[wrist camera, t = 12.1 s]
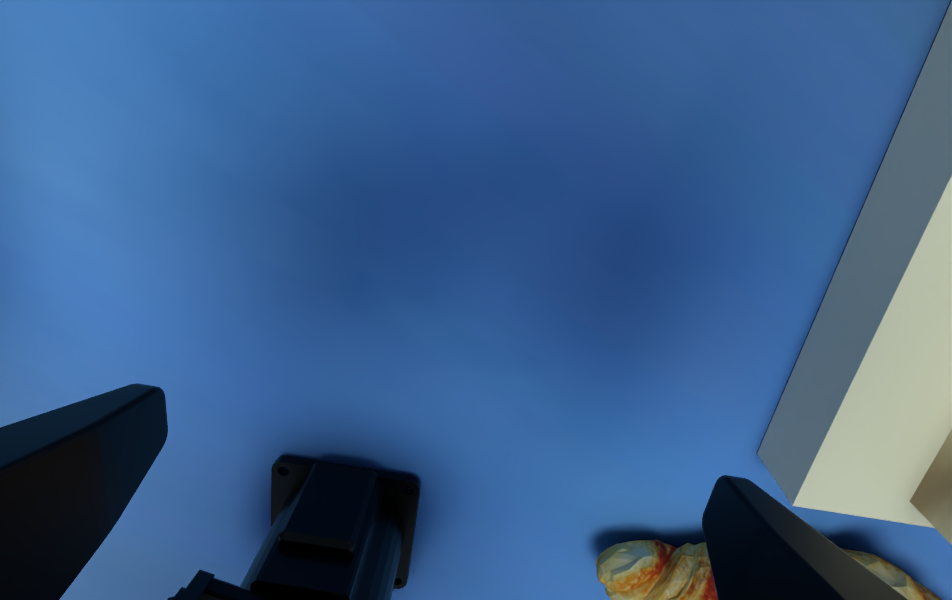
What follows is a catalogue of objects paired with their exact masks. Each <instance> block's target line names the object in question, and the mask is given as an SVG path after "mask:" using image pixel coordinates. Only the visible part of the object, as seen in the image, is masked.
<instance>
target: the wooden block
mask: <svg viewBox="0 0 952 600" xmlns="http://www.w3.org/2000/svg"><path fill="white" fill-rule="evenodd" d="M910 502H911V503H912V505H913V506H914V507H915V508H916V509H917V510H918V511H919V512H920V513H921V514H922V515H923V516H924V517H925V518H926V519H927V520H928V521H929V522H930V523H931V524H932V525H933V526H934V527H935V528H936V529H937V530H938V531H939V532H940V534H941V535H942V536H943V537H944V538H945V539H946V540H947V541H948V542H949V543H950V544H951V545H952V429H951V431H950V433H949V435H948V436H947V438H946V440H945V441H944V443H943V445H942V446H941V448H940V450H939V452H938V453H937V455H936V457H935V458H934V460H933V462H932V464H931V465H930V467H929V469H928V470H927V472H926V474H925V475H924V477H923V479H922V481H921V482H920V484H919V486H918V487H917V489H916V491H915V493H914V494H913V496H912V498H911V499H910Z"/></svg>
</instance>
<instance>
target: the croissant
mask: <svg viewBox="0 0 952 600" xmlns="http://www.w3.org/2000/svg"><path fill="white" fill-rule="evenodd" d="M840 549H842V548H840ZM842 550H843V551H844V552H846V553H847V554H848V555H850V556H851V557H852V558H853V559H855V560H856V561H857V562H859V563H860V564H861V565H863V566H864V567H865V568H867V569H868V570H869V571H871V572H872V573H873V574H875V575H876V576H877V577H879V578H880V579H881V580H883V581H884V582H885V583H887V584H888V585H889V586H891V587H892V588H893V589H895V590H896V591H897V592H899V593H900V594H901V595H903V596H904V597H905V598H907V599H908V600H941V599H940V598H939V597H938V596H937V595H935V594H934V593H933V592H931V591H930V590H929V589H927V588H926V587H925V586H923V585H922V584H919V583H917V582H915V581H914V580H913V579H912V578H911V577H910V576H909V575H908V574H907V573H906V572H904V571H903V570H902V569H901V568H899V567H897V566H895V565H893V564H891V563H889V562H887V561H886V560H884V559H882V558H880V557H878V556H876V555H874V554H871V553H866V552H861V551H856V550H848V549H842ZM596 567H597V576H598V579H599V581H600V582H601V583H603V584H604V585H605V586H606V588H605V590H606V593H607V595H608V596H609V597H610V598H611V599H612V600H718V597H717V592H716V588H715V583H714V579H713V574H712V570H711V565H710V560H709V556H708V551H707V547H706V542H702V543H699V544H696V545H693V544H690V543H686V544H684V545H683V546H681V547H679V548H676V547H674V546H671V545H669V544H666V543H663V542H661V541H659V540H636V541H629V542H623V543H620V544H618V543H617V544H615V545H613V546H611V547H609V548H607V549H606V550H604V551H603V552H602V553H601V554H600V555H599V556H598V558H597V560H596Z"/></svg>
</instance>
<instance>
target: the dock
mask: <svg viewBox="0 0 952 600" xmlns="http://www.w3.org/2000/svg"><path fill="white" fill-rule="evenodd" d="M951 429H952V1H951V3H950V6H949V8H948V10H947V13H946V15H945V17H944V20H943V22H942V24H941V27H940V29H939V31H938V34H937V36H936V38H935V41H934V43H933V45H932V48H931V50H930V52H929V54H928V57H927V59H926V61H925V64H924V66H923V68H922V71H921V73H920V75H919V78H918V80H917V82H916V85H915V87H914V89H913V92H912V94H911V96H910V99H909V101H908V103H907V106H906V108H905V110H904V113H903V115H902V117H901V120H900V122H899V124H898V127H897V129H896V131H895V134H894V136H893V138H892V141H891V143H890V145H889V148H888V150H887V152H886V155H885V157H884V159H883V162H882V164H881V166H880V169H879V171H878V173H877V176H876V178H875V180H874V182H873V185H872V187H871V189H870V192H869V194H868V196H867V199H866V201H865V203H864V206H863V208H862V210H861V213H860V215H859V217H858V220H857V222H856V224H855V227H854V229H853V231H852V234H851V236H850V238H849V241H848V243H847V245H846V248H845V250H844V252H843V255H842V257H841V259H840V262H839V264H838V266H837V269H836V271H835V273H834V276H833V278H832V280H831V283H830V285H829V287H828V290H827V292H826V294H825V297H824V299H823V301H822V304H821V306H820V308H819V310H818V313H817V315H816V317H815V320H814V322H813V324H812V327H811V329H810V331H809V334H808V336H807V338H806V341H805V343H804V345H803V348H802V350H801V352H800V355H799V357H798V359H797V362H796V364H795V366H794V369H793V371H792V373H791V376H790V378H789V380H788V383H787V385H786V387H785V390H784V392H783V394H782V397H781V399H780V401H779V404H778V406H777V408H776V411H775V413H774V415H773V418H772V420H771V422H770V425H769V427H768V429H767V432H766V434H765V436H764V438H763V441H762V443H761V445H760V448H759V450H758V452H757V454H758V456H759V457H760V459H761V460H762V462H763V463H764V465H765V466H766V468H767V469H768V471H769V472H770V473H771V475H772V476H773V478H774V479H775V481H776V482H777V484H778V485H779V487H780V488H781V490H782V491H783V493H784V494H785V496H786V497H787V498H788V500H789V501H790V503H791V504H792V506H798V507H804V508H810V509H817V510H823V511H830V512H836V513H843V514H849V515H855V516H862V517H868V518H875V519H881V520H887V521H894V522H900V523H907V524H913V525H919V526H926V527H932V528H935V527H934V526H933V525H932V524H931V523H930V522H929V521H928V520H927V519H926V518H925V517H924V516H923V515H922V514H921V513H920V512H919V511H918V510H917V509H916V508H915V507H914V506H913V505H912V503H911V502H910V499H911V498H912V496H913V494H914V493H915V491H916V489H917V487H918V486H919V484H920V482H921V481H922V479H923V477H924V475H925V474H926V472H927V470H928V469H929V467H930V465H931V464H932V462H933V460H934V458H935V457H936V455H937V453H938V452H939V450H940V448H941V446H942V445H943V443H944V441H945V440H946V438H947V436H948V435H949V433H950V431H951Z"/></svg>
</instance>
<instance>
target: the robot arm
mask: <svg viewBox="0 0 952 600" xmlns="http://www.w3.org/2000/svg"><path fill="white" fill-rule="evenodd" d="M167 433H168V425H167V413H166V401H165V394H164V391H163V390H162V389H161V388H160V387H157V386H150V385H144V384H131V385H128V386H125V387H122V388H119V389H116V390H113V391H110V392H107V393H104V394H101V395H98V396H94V397H91V398H88V399H85V400H82V401H79V402H76V403H73V404H70V405H67V406H64V407H61V408H58V409H55V410H52V411H49V412H46V413H43V414H40V415H37V416H34V417H31V418H28V419H25V420H22V421H19V422H16V423H13V424H10V425H7V426H4V427H1V428H0V600H59V599H60V598H61V597H62V595H63V594H64V593H65V591H66V590H67V589H68V587H69V586H70V585H71V583H72V582H73V581H74V579H75V578H76V577H77V575H78V574H79V573H80V571H81V570H82V569H83V567H84V566H85V565H86V564H87V562H88V561H89V560H90V558H91V557H92V556H93V554H94V553H95V552H96V550H97V549H98V548H99V546H100V545H101V544H102V542H103V541H104V540H105V538H106V537H107V535H108V534H109V533H110V531H111V530H112V528H113V527H114V525H115V524H116V522H117V521H118V519H119V518H120V516H121V514H122V513H123V511H124V510H125V508H126V506H127V505H128V503H129V501H130V500H131V498H132V496H133V495H134V493H135V492H136V490H137V488H138V487H139V485H140V483H141V482H142V480H143V478H144V477H145V475H146V474H147V472H148V470H149V469H150V467H151V465H152V464H153V462H154V460H155V459H156V457H157V456H158V454H159V452H160V451H161V449H162V447H163V445H164V443H165V441H166V438H167ZM282 466H283V467H286V468H287V469H288V470H285V469H283V468H282ZM405 486H410V487H412V489H408V488H406V487H405ZM420 488H421V483H420V481H419V479H417V478H416V477H414V476H411V475H405V474H399V473H393V472H386V471H380V470H373V469H367V468H360V467H354V466H348V465H341V464H335V463H328V462H322V461H315V460H309V459H302V458H296V457H290V456H281V457H279V458H278V459H277V460H276V461H275V463H274V464H273V466H272V487H271V529H270V531H269V533H268V535H267V536H266V538H265V540H264V542H263V544H262V546H261V548H260V550H259V552H258V554H257V556H256V557H255V559H254V561H253V563H252V565H251V567H250V569H249V571H248V573H247V575H246V576H245V578H244V580H243V582H242V584H241V586H240V587H238V586H236V585H233V584H230V583H227V582H224V581H222V580H219V579H216V578H214V576H215V575H214V574H211V573H208V572H205V571H202V570H199V571H198V573H197V574H196V575H195V577H194V578H193V580H192V581H191V582H190V584H189V585H188V586H187V588H183V587H182V588H181V589H180V590H179V591H178V593H177V594H176V595H175V596H174V597H170V598H168V599H167V600H391V595H392V591H393V588H395V589H400V588H403V587H404V586H405V585H406V583H407V579H408V573H409V566H410V559H411V552H412V545H413V538H414V531H415V524H416V517H417V509H418V502H419V495H420ZM702 528H703V533H704V538H705V542H706V547H707V551H708V556H709V560H710V565H711V570H712V574H713V579H714V583H715V588H716V592H717V597H718V600H908V599H907V598H905V597H904V596H903V595H901V594H900V593H899V592H897V591H896V590H895V589H893V588H892V587H891V586H889V585H888V584H887V583H885V582H884V581H883V580H881V579H880V578H879V577H877V576H876V575H875V574H873V573H872V572H871V571H869V570H868V569H867V568H865V567H864V566H863V565H861V564H860V563H859V562H857V561H856V560H855V559H853V558H852V557H851V556H850V555H848V554H847V553H846V552H844V551H843V550H842V549H840V548H839V547H838V546H836V545H835V544H834V543H832V542H831V541H830V540H828V539H827V538H826V537H824V536H823V535H822V534H820V533H819V532H818V531H816V530H815V529H814V528H812V527H811V526H810V525H808V524H807V523H806V522H804V521H803V520H802V519H800V518H799V517H798V516H796V515H795V514H794V513H792V512H791V511H790V510H789V509H787V508H786V507H785V506H783V505H782V504H781V503H779V502H778V501H777V500H775V499H774V498H773V497H771V496H770V495H769V494H767V493H766V492H765V491H763V490H762V489H761V488H759V487H758V486H757V485H755V484H754V483H753V482H751V481H750V480H748V479H745V478H740V477H734V476H727V475H724V476H721V477H719V478H718V480H717V481H716V483H715V486H714V488H713V491H712V493H711V496H710V498H709V501H708V503H707V506H706V508H705V510H704V513H703V518H702ZM396 577H398V578H396Z"/></svg>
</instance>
